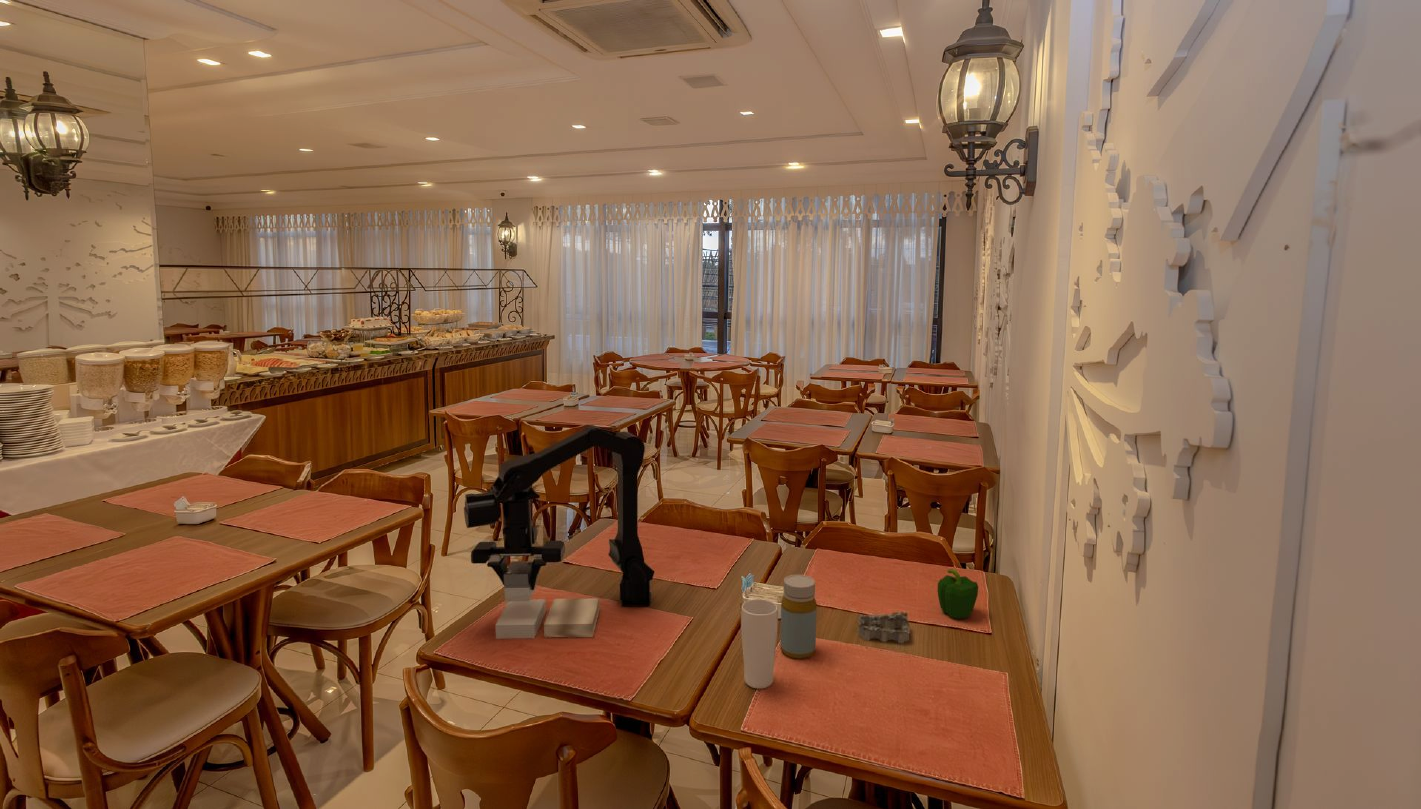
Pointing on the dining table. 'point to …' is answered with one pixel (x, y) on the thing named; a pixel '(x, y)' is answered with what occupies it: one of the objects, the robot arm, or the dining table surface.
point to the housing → (518, 581)
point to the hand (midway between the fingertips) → (520, 589)
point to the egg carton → (888, 622)
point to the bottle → (798, 617)
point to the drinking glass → (759, 641)
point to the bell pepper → (957, 595)
